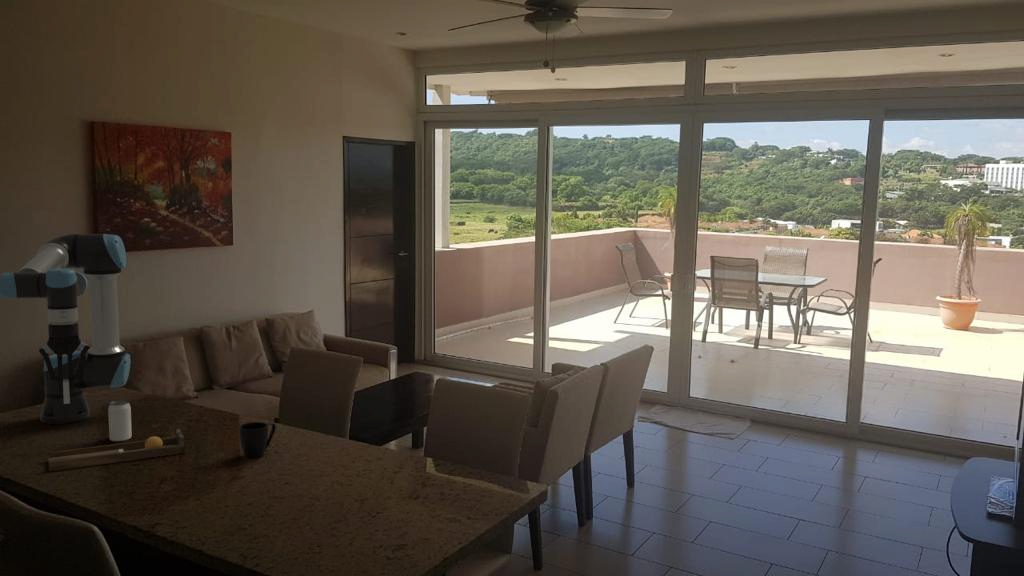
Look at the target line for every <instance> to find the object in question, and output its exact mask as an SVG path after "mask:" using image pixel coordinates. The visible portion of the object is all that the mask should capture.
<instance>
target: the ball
mask: <svg viewBox="0 0 1024 576" xmlns="http://www.w3.org/2000/svg"><path fill="white" fill-rule="evenodd" d="M162 446H163V442H162V440H161V438H160V437H159V436H156V435H155V436H153V435H152V436H150V437H148V438H147V439H146V442H145V448H146V449H152V448H159V447H162Z"/></svg>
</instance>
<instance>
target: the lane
mask: <svg viewBox="0 0 1024 576" xmlns="http://www.w3.org/2000/svg"><path fill="white" fill-rule="evenodd" d="M175 435H176V436H171V437H163V438H160V439H161V440H162V442H163V446H162V447H159V448H152V449H146V448H145V442H146V440H147V439H146V440H138V441H131V442H123V443H122V442H121V443H115V444H104V445H97V446H91V447H90V446H89V447H83V448H82V447H81V448H75V449H65V450H58V451H57V450H56V451H50V452H48V472H53V471H54V472H55V471H62V470H69V469H77V468H84V467H85V468H87V467H93V466H98V465H99V466H100V465H107V464H115V463H122V462H130V461H137V460H144V459H151V458H152V457H153V458H159V457H158V456H160V457H166V455H168V456H174V455H173V454H175V455H180V454H179V453H183V454H185V436H184V434H183V433H182V431H181V429H180V428H176V429H175ZM164 455H165V456H164Z"/></svg>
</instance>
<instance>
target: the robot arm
mask: <svg viewBox="0 0 1024 576" xmlns="http://www.w3.org/2000/svg"><path fill="white" fill-rule="evenodd" d="M126 266H127V254H126V248H125V244H124V242H123V239H122V238H121V237H120V236H119V235H116V234H108V233H84V234H83V233H82V234H81V233H69V234H65V235H60V236H57V237H55V238H53V239H50V240H48V241H46V242H45V243H43V244H42V245H41V246H39V248H37V251H36V254H35V255H34V257H32V258H31V259H30V260H29V261H28V262H27V263H26V264H24V265H23V267H21V268H20V269H19V270H18V271H17V272H13V271H11V272H3V273H1V274H0V296H1V297H2V298H4V299H14V300H16V299H46V301H47V302H46V303H47V305H46V306H47V307H46V308H47V309H46V310H47V322H48V323H49V324H48V325H47V327H48V328H47V329H48V340H47V342H46V344H45V345H44V346H41V347H39V348H38V352H39V354H41V356H42V357H43V360H44V361H43V370H42V371H43V378H44V394H45V395H44V396H45V399H44V401H43V405H42V407H41V408H42V409H41V412H40V414H39V418H40V422H41V423H42V424H46V425H64V424H71V423H77V422H82V421H84V420H85V421H86V420H87V419H89V418H90V417H91V410H90V407H89V405H88V403H87V401H86V400H87V399H86V396H85V395H84V389H103V388H104V389H106V388H107V389H112V388H121V387H124V386H125V385H126V383H127V382H128V379H129V375H130V370H131V369H130V368H131V355H130V354H128V353H126V351H125V350H126V349H125V347H124V346H122V345H121V344H120V327H119V326H120V324H119V323H120V322H119V319H120V318H119V302H118V301H119V300H118V297H119V296H118V277H119V276H120V275H121V274H122V269H125V268H126ZM75 269H83V272H79V271H76V270H75ZM87 278H88V279H87ZM88 286H89V287H88ZM88 288H89V305H90V327H91V331H90V332H91V347H90V345H89V344H88V343H84V342H82V341H81V338H80V333H79V323H78V320H79V313H78V309H79V308H78V307H79V306H78V297H80V296H82V295H83V294H84V293H85V291H86V290H87V289H88ZM78 348H79V350H77V349H78ZM50 350H51V352H53V354H51V355H49V351H50Z"/></svg>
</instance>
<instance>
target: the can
mask: <svg viewBox="0 0 1024 576" xmlns="http://www.w3.org/2000/svg"><path fill="white" fill-rule="evenodd" d="M131 408H132V407H131V405H130V401H129V400H114V401H110V402H109V406H108V409H107V410H108V411H107V413H108V436H109V440H110V441H111V442H116V443H117V442H125V441H128V440H130V439H131V438H132V434H133V433H132V412H131V411H132V409H131Z"/></svg>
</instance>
